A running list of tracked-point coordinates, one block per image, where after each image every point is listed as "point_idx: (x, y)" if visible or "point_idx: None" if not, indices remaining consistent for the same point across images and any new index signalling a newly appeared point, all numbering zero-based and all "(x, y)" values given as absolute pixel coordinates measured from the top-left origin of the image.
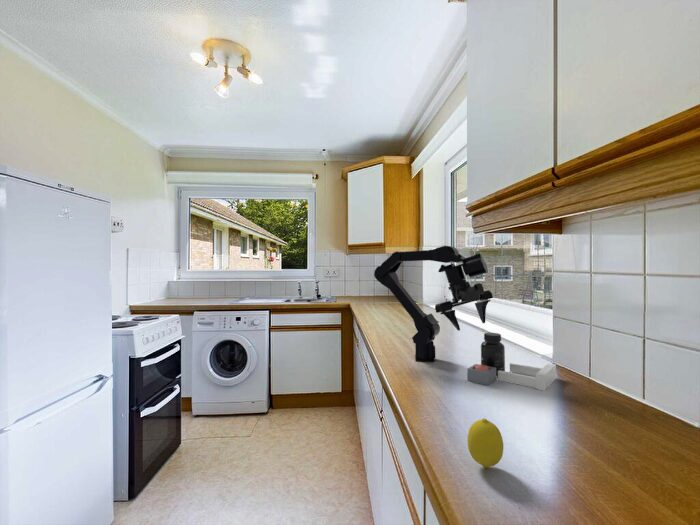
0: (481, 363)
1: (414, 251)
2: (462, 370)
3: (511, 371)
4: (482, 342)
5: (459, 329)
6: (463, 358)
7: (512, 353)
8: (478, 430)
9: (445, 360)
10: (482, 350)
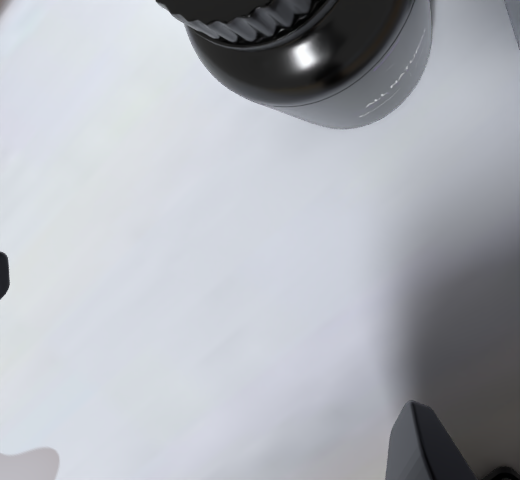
0: (413, 74)
1: None
2: (496, 199)
3: None
4: (330, 64)
5: (424, 409)
6: (262, 374)
7: None
8: None
9: None
10: (415, 12)
